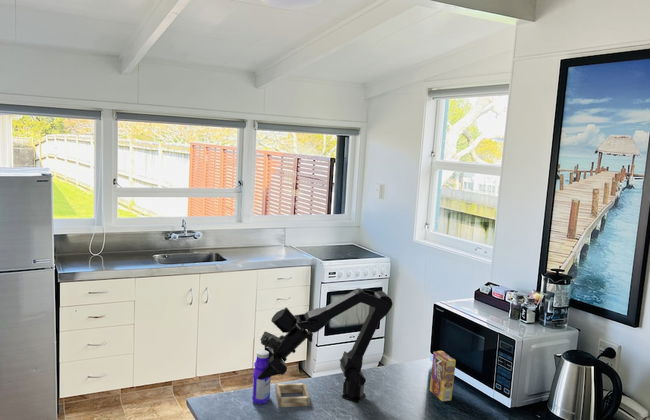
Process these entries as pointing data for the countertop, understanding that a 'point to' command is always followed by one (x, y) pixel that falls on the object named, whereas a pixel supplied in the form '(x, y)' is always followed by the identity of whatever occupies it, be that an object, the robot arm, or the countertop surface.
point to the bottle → (261, 386)
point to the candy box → (442, 375)
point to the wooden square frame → (292, 400)
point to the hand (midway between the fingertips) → (257, 372)
